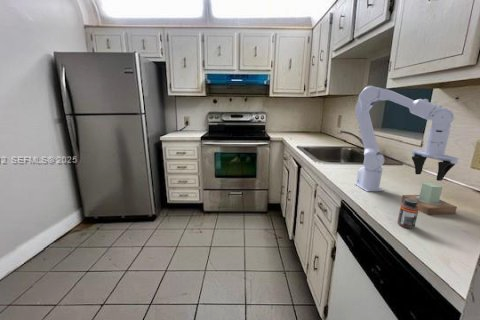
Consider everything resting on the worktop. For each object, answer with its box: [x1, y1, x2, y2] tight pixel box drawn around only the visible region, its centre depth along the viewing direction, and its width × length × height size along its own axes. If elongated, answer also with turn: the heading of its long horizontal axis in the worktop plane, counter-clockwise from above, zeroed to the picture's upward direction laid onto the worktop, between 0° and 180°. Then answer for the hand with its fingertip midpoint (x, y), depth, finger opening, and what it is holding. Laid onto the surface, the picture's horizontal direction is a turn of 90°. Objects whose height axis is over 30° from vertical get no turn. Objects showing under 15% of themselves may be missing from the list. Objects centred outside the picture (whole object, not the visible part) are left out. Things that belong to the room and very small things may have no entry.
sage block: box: [419, 182, 443, 203], centre depth 83 cm, size 4×4×6 cm
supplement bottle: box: [397, 199, 419, 229], centre depth 70 cm, size 4×4×8 cm
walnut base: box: [401, 194, 458, 216], centre depth 84 cm, size 11×11×3 cm
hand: (428, 177), depth 87 cm, fingers open, 7 cm apart
